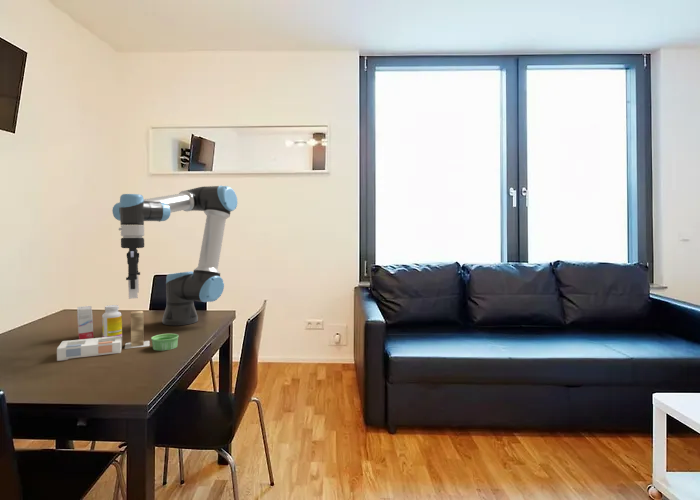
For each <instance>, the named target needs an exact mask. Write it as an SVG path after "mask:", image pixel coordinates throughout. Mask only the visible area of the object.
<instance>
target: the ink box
mask: <svg viewBox="0 0 700 500" xmlns="http://www.w3.org/2000/svg"><path fill="white" fill-rule="evenodd" d="M76 309H77V311H76V313H77V316H76V317H77V333H78V340H80V339H91V338H94V321H93V309H92V306H91V305H85V306H77V308H76Z"/></svg>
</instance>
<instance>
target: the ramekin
mask: <svg viewBox="0 0 700 500" xmlns="http://www.w3.org/2000/svg"><path fill="white" fill-rule="evenodd" d="M150 339H151V344H152V350H154V351H161V352H163V351H169V350H174V349H176V348H178V343H179V342H178V341H179V334H177V333H162V334H156V335H154V336H153V335H152V336H151V337H150Z"/></svg>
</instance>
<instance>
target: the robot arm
mask: <svg viewBox="0 0 700 500" xmlns="http://www.w3.org/2000/svg"><path fill="white" fill-rule="evenodd" d="M237 207H238V197H237V193H236V192H235V190H234V189H233V188H232V187H230V186H228V185H211V186H210V185H209V186H198V187H195V188H190V189H187V190H181V191H179V193H177V194H175V193H174V194H168V195H164V196H163V195H162V196H157V197H152V198H151V197H150V198H145V199H144V196H143V195H142V194H139V193H138V194H137V193H122V194H121V195H120V197H119V202H116V203H115V204H114V205H113V207H112V210H111V211H112V215H113V217H114V219H115V220H117V221H120V222H119V223H120V227H118V231H120V236H121V238H120V247H121V248H122V249H128V252H127V253H126V259H127V261H126V264H127V265H128V266H127V269H128V270H127V272H128V273H127V274H128V275H127V277H125V281H128V299H129V300H130V299H138V294H139V291H140V288H139V285H140V284H139V276H140V275H141V271H139V263H140V262H139V261H140V259H139V258H140V253H139V252H138V249H143V248H145V222H166V221H167V220H168V219H169V218H170V217H171V213H175V212H181V211H183V212H192V211H193V212H194V211H195V212H196V211H198V212H199V211H200V212H204V214H205V215H206V219H205V223H204V224H205V225H204V230H203V235H202V241H201V246H200V253H199V259H198V265H197V267H196V268H194V269H193V271H184V272H175V273H169V274H167V275H166V278H165V279H166V281H165V292H166V293H165V296H166V298H165V299H166V307H165V309H164V313H163V317H162V324H163V325H166V326H184V325H191V324H195V323H198V321H199V319H198V318H199V316H198V314H197V313H198V312H197V310H196V307H195V303H194V302H203V303H207V302H208V303H211V302H212V303H213V302H216V301H217V300H218V299H219V298H221V296H222V294H223V293H224V288H225V283H224V280H223V278H222V277H221V272H220V271H219V262H220V257H221V251H222V243H223V239H224V234H225V233H224V232H225V226H226V220H227V219H228V218H230V216H231V212H233V211H234V210H236V209H237Z"/></svg>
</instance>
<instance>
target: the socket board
mask: <svg viewBox="0 0 700 500" xmlns="http://www.w3.org/2000/svg"><path fill="white" fill-rule="evenodd" d="M122 348H123V335H122V336H113V337H103V336H102V337H95V338H94V337H93V338H89V339H80V340H79V339H73V340H71V339H70V340H62V341H61V343H60V344H59V345H58V346H57V348H56V361H57V362H58V361H68V360H70V359H77V358H86V357H95V356H96V357H97V356H102V355H113V354H121V353H122Z"/></svg>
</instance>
